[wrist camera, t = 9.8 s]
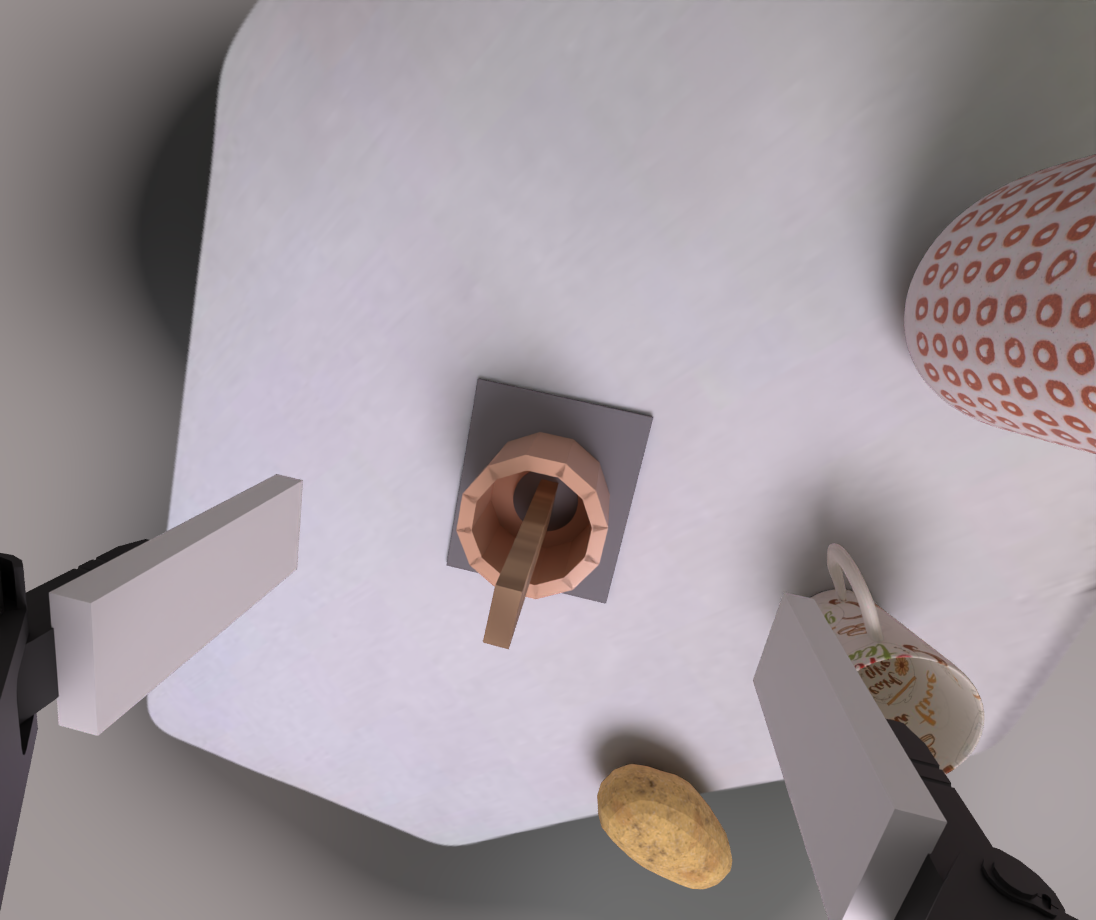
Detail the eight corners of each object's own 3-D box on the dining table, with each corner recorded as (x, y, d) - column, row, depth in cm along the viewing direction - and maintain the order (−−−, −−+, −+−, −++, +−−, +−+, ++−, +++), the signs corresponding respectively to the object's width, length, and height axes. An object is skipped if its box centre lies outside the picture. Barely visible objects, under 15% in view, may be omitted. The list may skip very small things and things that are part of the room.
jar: (494, 421, 40) (471, 442, 34) (620, 449, 40) (621, 476, 33) (473, 538, 42) (448, 577, 36) (592, 566, 42) (587, 611, 36)
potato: (641, 721, 45) (645, 784, 39) (743, 810, 46) (762, 886, 40) (582, 770, 47) (577, 838, 41) (681, 855, 48) (690, 934, 42)
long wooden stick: (521, 461, 40) (462, 561, 25) (584, 477, 39) (561, 587, 25) (508, 519, 41) (446, 645, 27) (570, 535, 41) (539, 671, 26)
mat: (479, 378, 40) (477, 379, 40) (652, 416, 39) (653, 417, 39) (448, 563, 44) (446, 565, 43) (606, 600, 43) (605, 603, 43)
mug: (791, 689, 43) (841, 799, 33) (745, 536, 41) (784, 607, 31) (910, 663, 41) (998, 770, 32) (870, 502, 39) (953, 565, 29)
